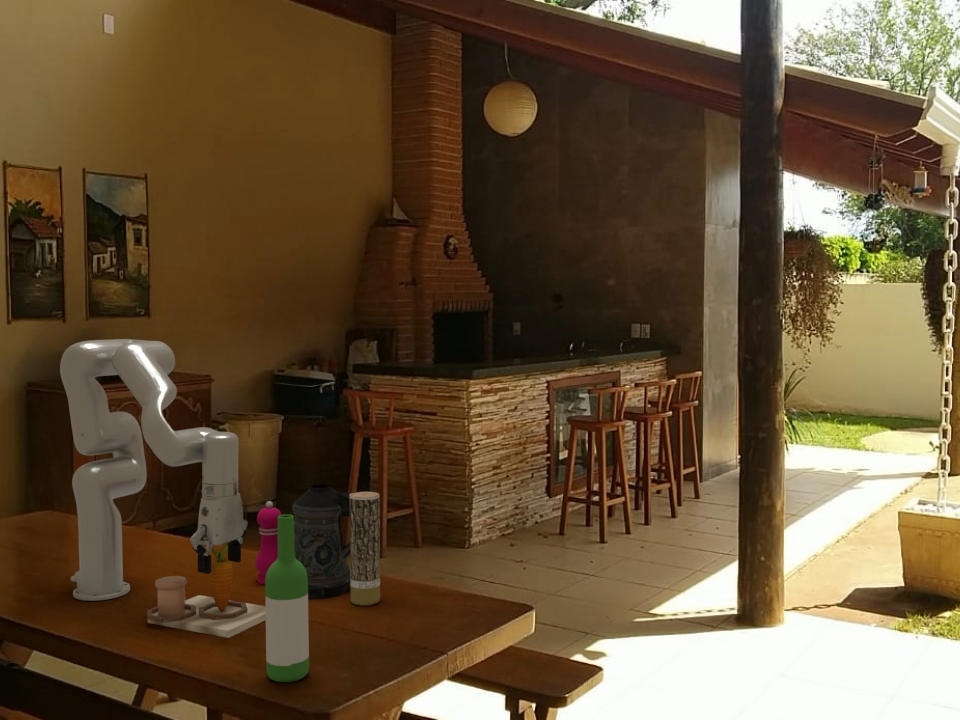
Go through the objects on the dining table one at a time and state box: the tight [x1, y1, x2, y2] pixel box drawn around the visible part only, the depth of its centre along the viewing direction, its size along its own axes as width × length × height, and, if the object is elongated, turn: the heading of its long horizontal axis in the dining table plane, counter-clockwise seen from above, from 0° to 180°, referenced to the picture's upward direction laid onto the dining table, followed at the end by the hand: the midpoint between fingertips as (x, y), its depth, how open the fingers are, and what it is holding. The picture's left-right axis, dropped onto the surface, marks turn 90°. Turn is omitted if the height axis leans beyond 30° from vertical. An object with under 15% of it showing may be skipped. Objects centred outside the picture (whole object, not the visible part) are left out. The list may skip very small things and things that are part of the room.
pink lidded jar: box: [154, 575, 188, 617], centre depth 206 cm, size 6×6×8 cm
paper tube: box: [349, 491, 381, 607], centre depth 219 cm, size 7×7×25 cm
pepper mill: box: [254, 500, 282, 586], centre depth 235 cm, size 7×7×20 cm
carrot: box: [209, 542, 234, 612], centre depth 208 cm, size 5×5×15 cm
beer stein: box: [291, 484, 351, 599], centre depth 230 cm, size 16×19×25 cm
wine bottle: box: [264, 513, 310, 683], centre depth 176 cm, size 8×8×30 cm
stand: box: [146, 594, 266, 639], centre depth 207 cm, size 23×18×2 cm
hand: (219, 566), depth 208 cm, fingers open, 9 cm apart
